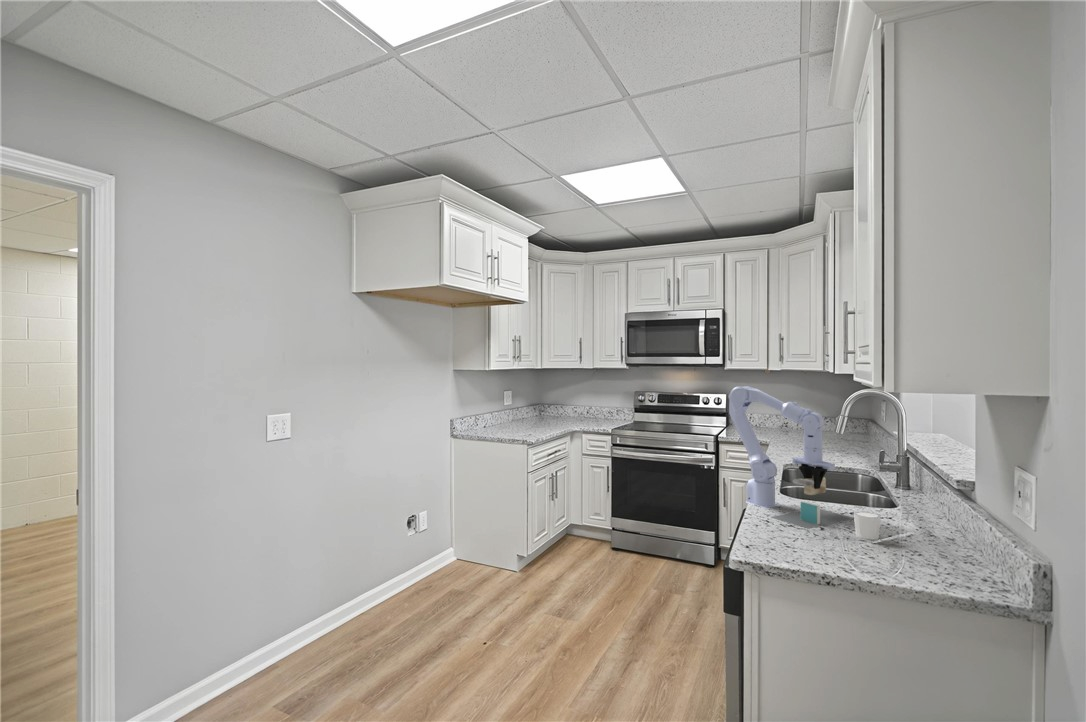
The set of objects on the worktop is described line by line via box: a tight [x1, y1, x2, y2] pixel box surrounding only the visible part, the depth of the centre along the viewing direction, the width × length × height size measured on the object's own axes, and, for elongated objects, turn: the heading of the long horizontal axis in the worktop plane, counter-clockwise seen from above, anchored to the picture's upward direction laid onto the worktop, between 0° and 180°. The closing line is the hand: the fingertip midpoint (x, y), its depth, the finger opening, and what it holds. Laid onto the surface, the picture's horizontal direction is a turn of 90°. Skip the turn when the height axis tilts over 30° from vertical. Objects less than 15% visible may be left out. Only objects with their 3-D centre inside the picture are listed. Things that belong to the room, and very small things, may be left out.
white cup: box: [853, 511, 882, 542], centre depth 153 cm, size 7×7×7 cm
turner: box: [792, 477, 827, 496], centre depth 178 cm, size 12×5×5 cm, turn 117°
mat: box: [770, 508, 854, 530], centre depth 172 cm, size 14×24×1 cm, turn 117°
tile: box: [800, 500, 821, 525], centre depth 168 cm, size 6×1×6 cm, turn 27°
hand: (813, 487), depth 179 cm, fingers closed on turner, 2 cm apart
